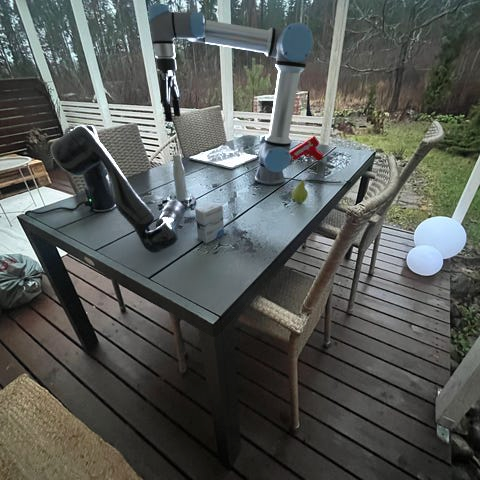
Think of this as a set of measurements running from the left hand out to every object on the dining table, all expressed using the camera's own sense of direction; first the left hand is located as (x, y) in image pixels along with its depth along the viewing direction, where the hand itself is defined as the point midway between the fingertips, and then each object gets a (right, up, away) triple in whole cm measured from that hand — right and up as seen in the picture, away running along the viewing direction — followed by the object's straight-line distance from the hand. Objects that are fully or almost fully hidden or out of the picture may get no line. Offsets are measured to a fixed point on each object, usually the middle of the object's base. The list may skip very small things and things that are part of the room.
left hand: (180, 196), depth 112 cm
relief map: (+14, +36, +67) cm, 77 cm away
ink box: (+14, -17, -15) cm, 26 cm away
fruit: (+51, -1, +10) cm, 52 cm away
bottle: (0, -4, +5) cm, 7 cm away
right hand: (-4, +33, +2) cm, 33 cm away
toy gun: (+67, +33, +63) cm, 97 cm away
